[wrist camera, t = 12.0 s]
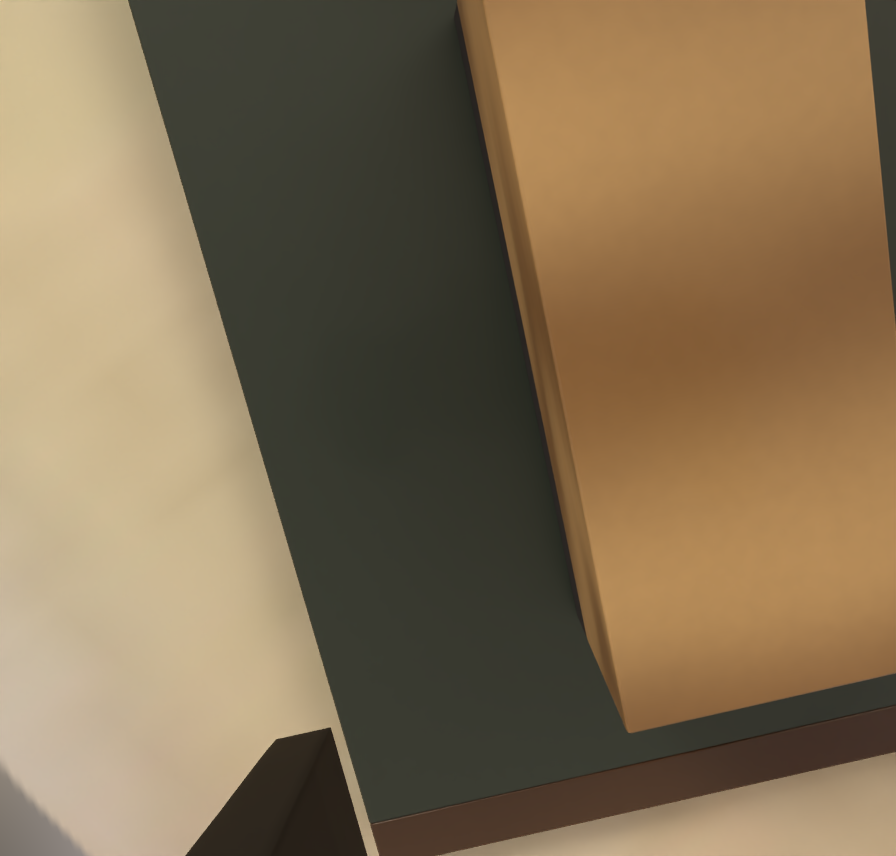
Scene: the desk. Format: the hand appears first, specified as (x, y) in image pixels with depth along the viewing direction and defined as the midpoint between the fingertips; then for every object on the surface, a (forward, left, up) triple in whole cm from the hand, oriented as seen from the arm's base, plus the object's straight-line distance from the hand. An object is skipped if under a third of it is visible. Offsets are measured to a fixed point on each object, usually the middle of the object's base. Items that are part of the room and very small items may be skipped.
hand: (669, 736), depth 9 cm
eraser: (+3, -3, -8) cm, 9 cm away
